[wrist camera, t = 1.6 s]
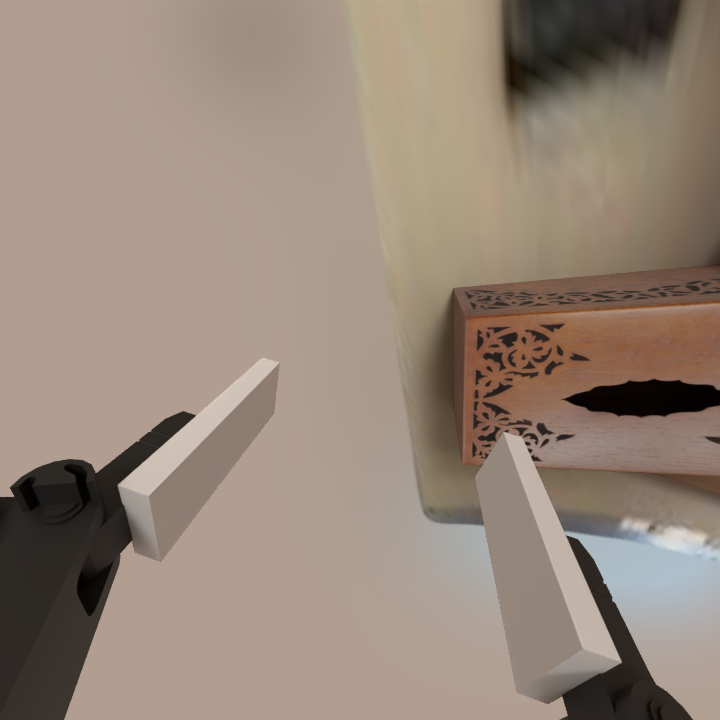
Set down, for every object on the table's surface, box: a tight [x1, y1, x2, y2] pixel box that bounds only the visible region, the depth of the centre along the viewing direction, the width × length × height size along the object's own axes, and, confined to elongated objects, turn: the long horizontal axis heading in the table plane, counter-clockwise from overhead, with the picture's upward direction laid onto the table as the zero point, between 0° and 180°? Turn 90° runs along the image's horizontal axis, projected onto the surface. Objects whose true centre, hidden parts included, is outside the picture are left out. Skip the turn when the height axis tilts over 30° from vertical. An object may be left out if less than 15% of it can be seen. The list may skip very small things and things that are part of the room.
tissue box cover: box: [453, 265, 720, 476], centre depth 26 cm, size 26×14×10 cm, turn 98°
